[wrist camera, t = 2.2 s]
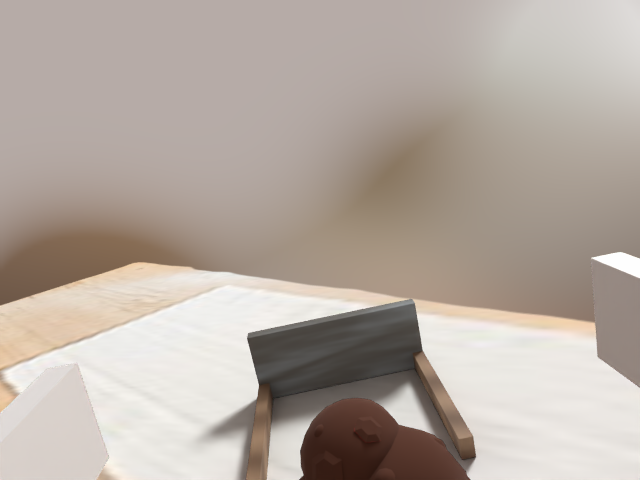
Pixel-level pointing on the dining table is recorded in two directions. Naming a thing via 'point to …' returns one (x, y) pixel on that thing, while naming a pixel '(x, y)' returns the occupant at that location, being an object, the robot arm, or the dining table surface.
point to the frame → (343, 366)
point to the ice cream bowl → (372, 447)
